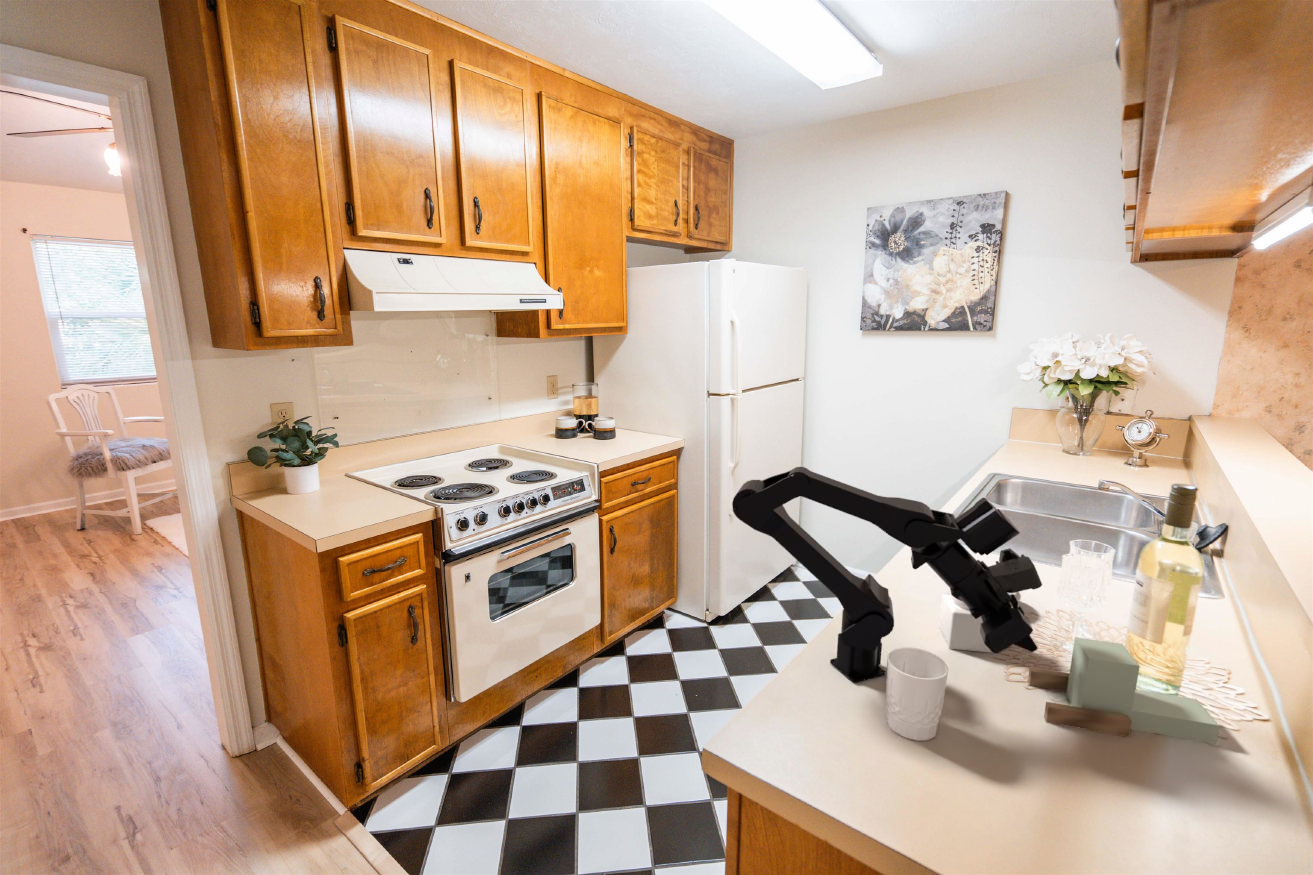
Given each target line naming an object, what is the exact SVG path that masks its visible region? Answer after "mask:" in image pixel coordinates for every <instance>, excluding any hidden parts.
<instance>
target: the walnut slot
mask: <svg viewBox="0 0 1313 875" xmlns="http://www.w3.org/2000/svg"><path fill="white" fill-rule="evenodd" d="M1069 674H1070V672H1064V671H1057V670H1051V669H1045V668H1040V667H1031V666H1029V669H1028V674H1027V675H1028V676H1027V683H1028V684H1029V685H1028V686H1032V687H1039V688H1043V689H1049V690H1056V691H1061V692H1062V691H1063V692H1067V687H1068V680H1069ZM1044 706H1045V708H1044V713H1043V714H1044V715H1043V718H1044V719H1045V722H1046V723H1050V724H1055V725H1056V724H1057V725H1061V726H1065V727H1072V728H1078V729H1084V730H1089V731H1094V732H1099V733H1100V732H1101V733H1104V734H1110V735H1116V736H1121V737H1122V736H1123V737H1126V738H1127V737H1128V738H1129V737H1130V733H1131V729H1130V728H1131V722H1132V721H1131V719H1130V718H1129V716H1126V715H1121V714H1115V713H1109V712H1103V711H1098V710H1092V709H1086V708H1080V707H1074V706H1072V705H1069V704H1062V703H1056V702H1050V701H1045V705H1044Z"/></svg>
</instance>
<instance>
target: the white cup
mask: <svg viewBox="0 0 1313 875" xmlns="http://www.w3.org/2000/svg"><path fill="white" fill-rule="evenodd" d="M948 674H949V667H948V664H947V663H946V662H945V661H944V660H943V659H942V658H941V657H939V656H937V655H936V654H934V653H932V652H930V651H928V650H924V649H920V648H917V647H898V648H897V647H896V648H894V649H891V651H890V650H889V652H888V653H887V656H886V683H885V684H886V687H885V688H886V690H885V691H886V692H885V693H886V696H885V698H886V699H885V700H886V714H885V715H886V716H885V717H886V721H887V725H888V726H889V727H890V729H891V730H893V731H894V733H895V734H897V735H899V736H901V737H903V738H905V739H909V740H913V741H917V742H919V741H921V742H922V741H929V740H931V739H933V738H935V737H936V735H937V733H938V730H939V723H940V718H941V716H942V710H943V705H944V701H945V700H944V699H945V693H946V687H947V681H948Z"/></svg>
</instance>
